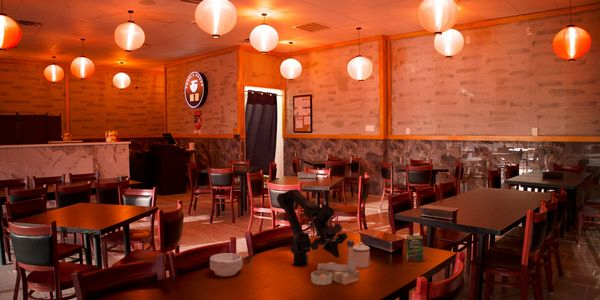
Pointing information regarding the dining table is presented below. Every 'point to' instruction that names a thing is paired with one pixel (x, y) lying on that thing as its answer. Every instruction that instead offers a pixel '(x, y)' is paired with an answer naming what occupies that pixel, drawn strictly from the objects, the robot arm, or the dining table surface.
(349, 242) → the lever
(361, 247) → the teacup with lid
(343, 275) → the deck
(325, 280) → the small white bowl
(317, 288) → the dining table surface
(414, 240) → the coffee box
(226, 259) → the paper bowls
